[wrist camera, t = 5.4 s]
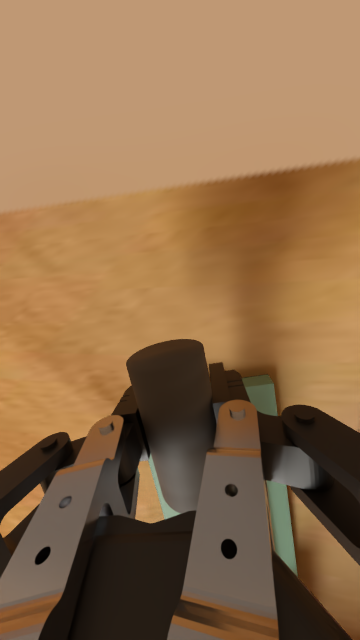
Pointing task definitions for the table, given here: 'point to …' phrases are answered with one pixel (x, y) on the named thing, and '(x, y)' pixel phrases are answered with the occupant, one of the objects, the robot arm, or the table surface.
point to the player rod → (175, 415)
